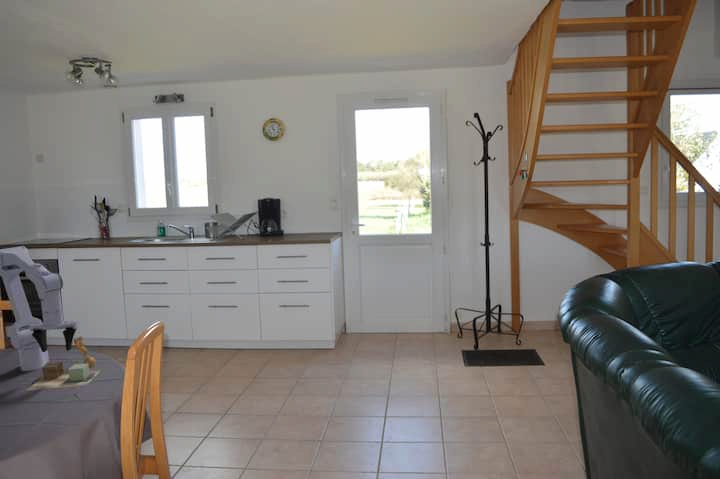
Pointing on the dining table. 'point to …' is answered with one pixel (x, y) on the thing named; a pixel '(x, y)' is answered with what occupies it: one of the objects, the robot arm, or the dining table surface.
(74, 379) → the sage block
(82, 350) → the figurine
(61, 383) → the baseplate
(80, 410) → the dining table surface
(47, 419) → the dining table surface
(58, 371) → the walnut block
